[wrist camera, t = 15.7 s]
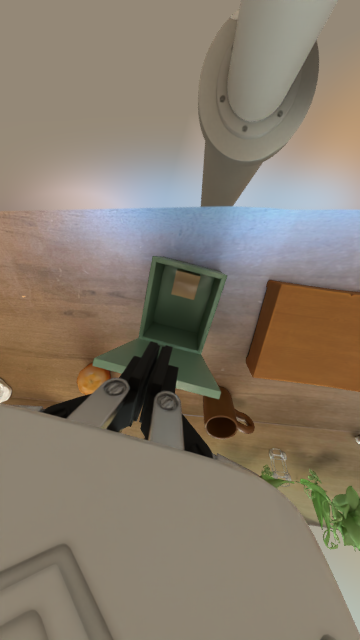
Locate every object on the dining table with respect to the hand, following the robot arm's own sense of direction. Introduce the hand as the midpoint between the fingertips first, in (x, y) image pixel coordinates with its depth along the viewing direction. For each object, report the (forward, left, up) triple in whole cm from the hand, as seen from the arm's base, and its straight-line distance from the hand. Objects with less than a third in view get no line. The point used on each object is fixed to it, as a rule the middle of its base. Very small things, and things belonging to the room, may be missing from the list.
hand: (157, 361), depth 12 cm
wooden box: (+1, +35, -28) cm, 45 cm away
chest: (+2, 0, -28) cm, 28 cm away
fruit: (+28, -17, -28) cm, 43 cm away
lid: (+6, 0, -11) cm, 12 cm away
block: (-2, 0, -27) cm, 27 cm away
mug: (+26, +18, -28) cm, 42 cm away
